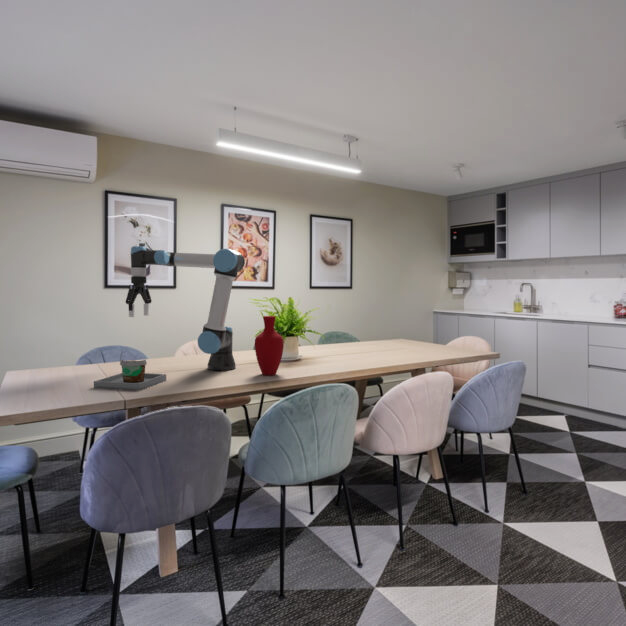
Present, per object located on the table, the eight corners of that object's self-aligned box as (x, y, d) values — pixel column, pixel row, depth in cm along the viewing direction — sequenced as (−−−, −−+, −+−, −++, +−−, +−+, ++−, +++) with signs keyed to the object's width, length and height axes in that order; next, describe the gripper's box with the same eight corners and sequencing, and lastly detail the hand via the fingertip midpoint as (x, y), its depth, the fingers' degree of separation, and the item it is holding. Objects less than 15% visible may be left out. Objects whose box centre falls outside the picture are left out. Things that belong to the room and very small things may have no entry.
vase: (272, 378, 217) (273, 317, 216) (248, 375, 225) (248, 316, 223) (288, 373, 230) (289, 316, 229) (265, 370, 238) (265, 315, 236)
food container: (114, 383, 199) (114, 360, 198) (122, 380, 205) (121, 358, 204) (139, 384, 197) (139, 361, 196) (147, 381, 203) (146, 359, 202)
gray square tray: (166, 380, 210) (166, 374, 210) (139, 391, 188) (139, 384, 188) (124, 378, 214) (124, 372, 214) (93, 388, 193) (93, 381, 192)
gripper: (145, 276, 246) (145, 314, 247) (117, 275, 221) (118, 317, 223) (157, 276, 244) (158, 315, 246) (131, 275, 220) (131, 317, 221)
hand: (139, 316), depth 234 cm, fingers open, 13 cm apart
